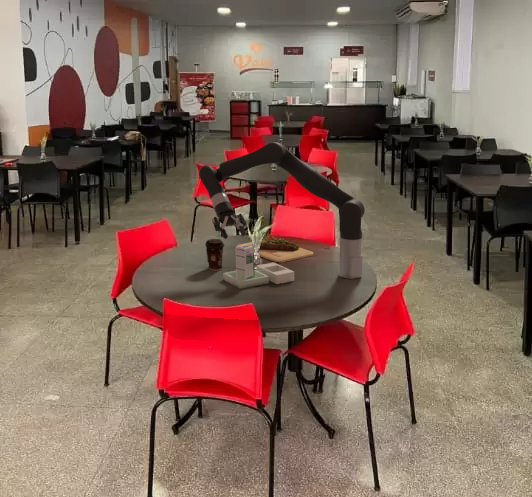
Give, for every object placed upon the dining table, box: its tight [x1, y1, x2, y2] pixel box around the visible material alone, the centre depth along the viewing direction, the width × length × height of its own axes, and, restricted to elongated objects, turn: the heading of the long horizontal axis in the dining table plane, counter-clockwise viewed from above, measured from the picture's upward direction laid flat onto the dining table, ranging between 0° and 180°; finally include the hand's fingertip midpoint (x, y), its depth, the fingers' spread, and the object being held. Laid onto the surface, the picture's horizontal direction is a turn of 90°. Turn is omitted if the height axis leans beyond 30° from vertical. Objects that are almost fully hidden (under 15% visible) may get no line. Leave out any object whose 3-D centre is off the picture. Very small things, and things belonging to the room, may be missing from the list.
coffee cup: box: [205, 238, 225, 272], centre depth 290 cm, size 9×8×13 cm
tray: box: [222, 269, 270, 290], centre depth 274 cm, size 14×14×3 cm
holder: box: [256, 261, 295, 285], centre depth 279 cm, size 16×9×4 cm, turn 33°
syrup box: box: [235, 243, 256, 281], centre depth 272 cm, size 6×6×14 cm
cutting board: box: [236, 233, 315, 264], centre depth 320 cm, size 35×23×8 cm
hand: (235, 236), depth 277 cm, fingers open, 8 cm apart
